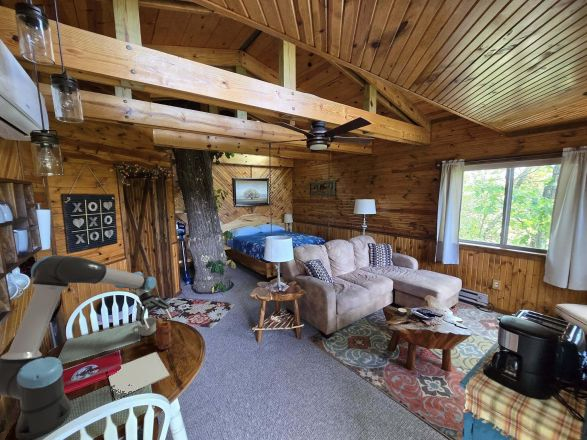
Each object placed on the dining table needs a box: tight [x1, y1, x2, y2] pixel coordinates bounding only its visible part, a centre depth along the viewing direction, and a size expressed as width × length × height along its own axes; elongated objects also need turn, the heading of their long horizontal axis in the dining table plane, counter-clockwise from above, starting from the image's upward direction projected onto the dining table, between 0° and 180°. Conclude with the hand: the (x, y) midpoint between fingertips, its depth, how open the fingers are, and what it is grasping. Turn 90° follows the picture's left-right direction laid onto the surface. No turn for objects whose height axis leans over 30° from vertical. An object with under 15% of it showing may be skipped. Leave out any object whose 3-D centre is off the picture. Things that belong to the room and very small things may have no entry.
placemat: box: [108, 351, 171, 402], centre depth 120 cm, size 22×24×1 cm
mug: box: [155, 317, 174, 350], centre depth 142 cm, size 15×8×15 cm, turn 48°
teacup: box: [131, 317, 158, 337], centre depth 153 cm, size 14×11×8 cm
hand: (159, 323), depth 145 cm, fingers open, 13 cm apart
